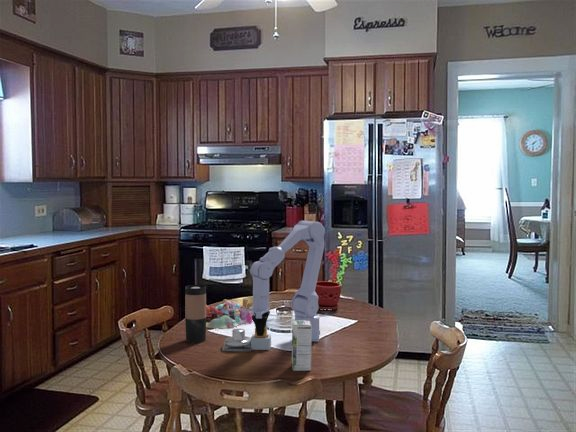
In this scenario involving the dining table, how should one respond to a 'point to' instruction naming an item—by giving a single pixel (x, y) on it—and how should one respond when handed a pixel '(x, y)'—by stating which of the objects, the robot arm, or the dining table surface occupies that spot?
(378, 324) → the dining table surface
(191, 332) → the travel mug
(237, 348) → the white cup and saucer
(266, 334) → the wedge
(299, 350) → the syrup box
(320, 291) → the plant pot
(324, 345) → the dining table surface
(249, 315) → the candy landscape model
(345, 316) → the dining table surface
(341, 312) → the dining table surface
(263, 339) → the bracket head
